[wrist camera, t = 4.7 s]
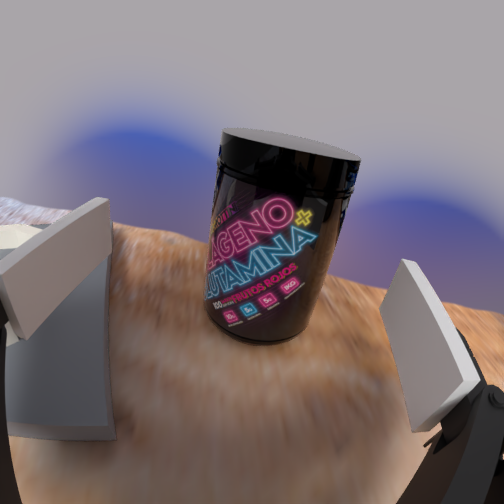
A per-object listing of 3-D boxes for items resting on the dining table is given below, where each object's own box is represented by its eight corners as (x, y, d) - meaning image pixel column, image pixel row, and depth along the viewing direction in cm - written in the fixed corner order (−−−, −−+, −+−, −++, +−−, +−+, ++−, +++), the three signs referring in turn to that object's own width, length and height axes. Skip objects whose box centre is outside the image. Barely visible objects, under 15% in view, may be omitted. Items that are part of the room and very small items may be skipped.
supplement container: (193, 282, 19) (209, 124, 14) (283, 278, 22) (316, 139, 17) (214, 359, 14) (245, 144, 9) (326, 342, 16) (390, 169, 11)
